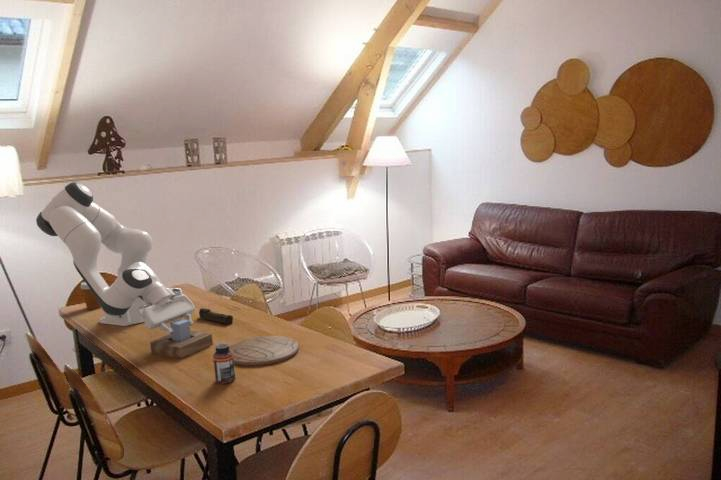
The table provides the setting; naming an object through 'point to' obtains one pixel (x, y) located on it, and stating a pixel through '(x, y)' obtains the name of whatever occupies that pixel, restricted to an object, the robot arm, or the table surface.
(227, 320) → the hand tool
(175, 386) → the table surface
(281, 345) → the trivet
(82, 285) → the disposable coffee cup
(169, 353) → the walnut holder
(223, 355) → the supplement bottle
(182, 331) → the square post
